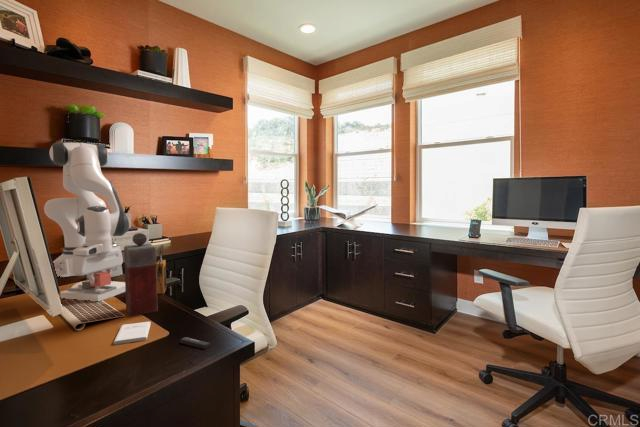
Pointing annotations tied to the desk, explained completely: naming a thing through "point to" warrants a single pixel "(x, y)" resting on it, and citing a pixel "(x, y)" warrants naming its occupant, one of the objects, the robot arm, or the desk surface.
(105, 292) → the panel
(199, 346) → the usb stick
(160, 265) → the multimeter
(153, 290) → the decanter
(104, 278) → the lockout cap
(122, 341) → the external hard drive
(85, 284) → the tagged toggle
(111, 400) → the desk surface
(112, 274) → the electrical switch
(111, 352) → the desk surface
